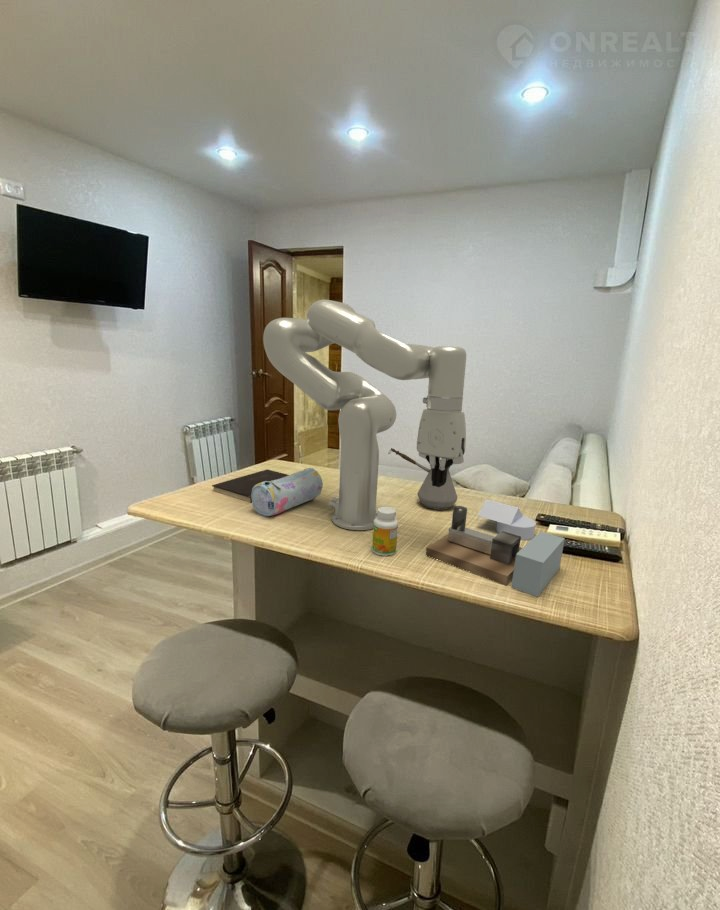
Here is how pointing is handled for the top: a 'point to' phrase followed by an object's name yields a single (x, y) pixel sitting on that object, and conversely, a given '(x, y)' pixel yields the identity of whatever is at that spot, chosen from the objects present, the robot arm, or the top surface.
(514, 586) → the block
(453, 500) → the coffee pot
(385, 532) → the supplement bottle
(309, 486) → the pencil case
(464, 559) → the door panel
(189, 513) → the top surface
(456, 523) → the bolt
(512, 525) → the wedge on round base
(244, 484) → the hardcover book
